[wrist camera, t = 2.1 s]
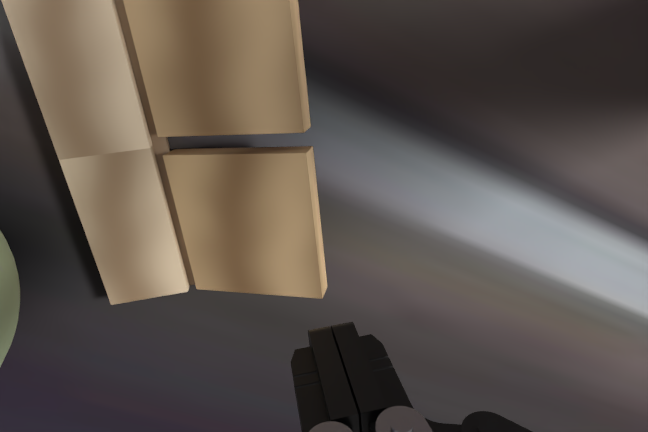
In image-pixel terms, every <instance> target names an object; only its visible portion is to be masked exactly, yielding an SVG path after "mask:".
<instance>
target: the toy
mask: <svg viewBox="0 0 648 432" xmlns="http://www.w3.org/2000/svg"><path fill="white" fill-rule="evenodd" d="M19 307H20V285H19V276H18V272H17V268H16V264H15V260H14V257H13V254H12V252H11V250H10V247H9V245H8V243H7V241H6V239H5V237H4V236H3V234H2V232H1V231H0V367H1V364H2V362H3V360H4V358H5V356H6V354H7V352H8V350H9V348H10V345H11V343H12V340H13V337H14V334H15V330H16V326H17V322H18V315H19Z"/></svg>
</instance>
